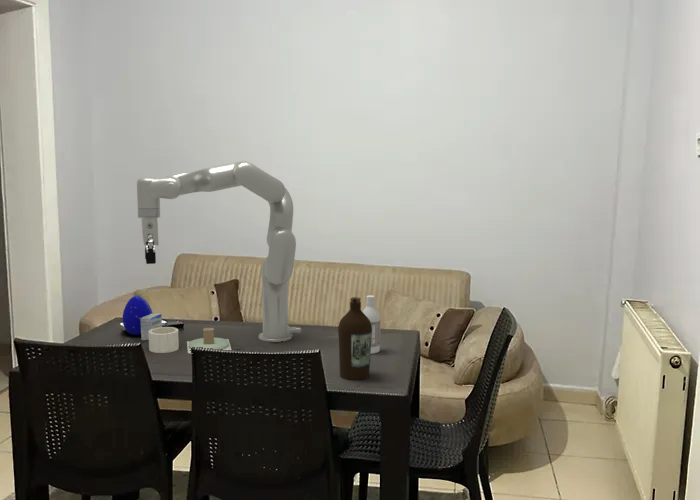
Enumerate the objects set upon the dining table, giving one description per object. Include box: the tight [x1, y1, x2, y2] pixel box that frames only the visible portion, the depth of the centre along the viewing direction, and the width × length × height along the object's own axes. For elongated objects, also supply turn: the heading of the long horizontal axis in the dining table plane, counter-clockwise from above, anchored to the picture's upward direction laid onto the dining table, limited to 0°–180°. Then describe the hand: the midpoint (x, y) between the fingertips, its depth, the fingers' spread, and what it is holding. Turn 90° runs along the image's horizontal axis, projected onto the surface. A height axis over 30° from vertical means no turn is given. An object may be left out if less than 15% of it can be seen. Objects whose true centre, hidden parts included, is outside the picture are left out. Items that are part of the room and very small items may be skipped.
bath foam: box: [362, 294, 381, 355], centre depth 247 cm, size 7×7×20 cm
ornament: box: [121, 295, 153, 336], centre depth 266 cm, size 11×9×15 cm
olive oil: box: [337, 296, 372, 381], centre depth 220 cm, size 11×11×25 cm
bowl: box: [148, 326, 180, 354], centre depth 246 cm, size 10×10×7 cm
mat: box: [186, 338, 233, 354], centre depth 251 cm, size 15×15×1 cm
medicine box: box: [141, 312, 163, 341], centre depth 261 cm, size 8×4×9 cm, turn 166°
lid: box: [189, 327, 230, 349], centre depth 250 cm, size 14×14×6 cm
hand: (150, 261), depth 248 cm, fingers open, 9 cm apart
